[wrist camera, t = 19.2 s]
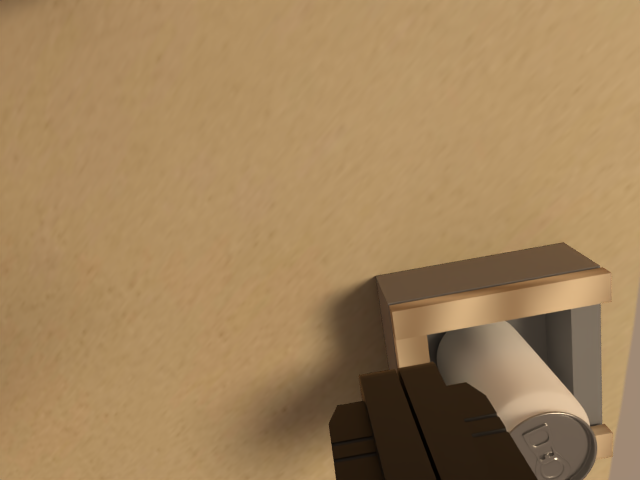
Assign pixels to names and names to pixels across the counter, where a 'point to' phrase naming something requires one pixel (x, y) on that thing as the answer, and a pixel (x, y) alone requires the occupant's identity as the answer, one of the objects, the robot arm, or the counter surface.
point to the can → (522, 398)
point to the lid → (498, 316)
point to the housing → (538, 331)
